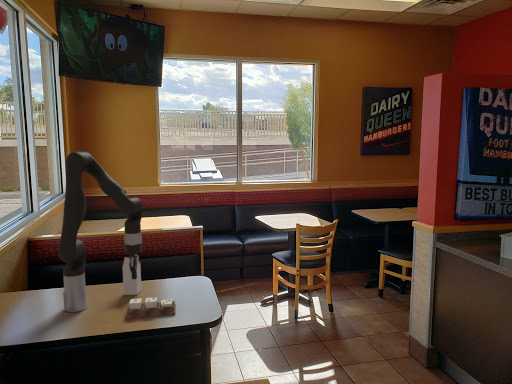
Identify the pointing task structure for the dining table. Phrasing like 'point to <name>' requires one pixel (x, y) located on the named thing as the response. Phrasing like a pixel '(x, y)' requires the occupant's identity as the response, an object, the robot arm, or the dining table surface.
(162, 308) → the brown tile tray
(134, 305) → the tile one
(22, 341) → the dining table surface
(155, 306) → the tile two
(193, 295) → the dining table surface
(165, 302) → the tile three
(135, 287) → the milk carton
